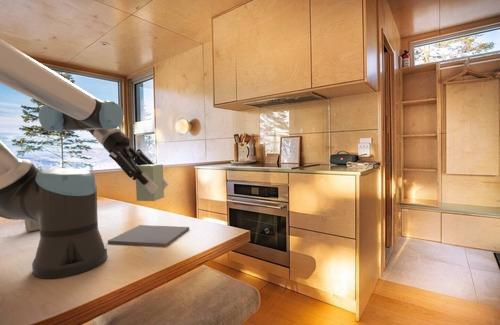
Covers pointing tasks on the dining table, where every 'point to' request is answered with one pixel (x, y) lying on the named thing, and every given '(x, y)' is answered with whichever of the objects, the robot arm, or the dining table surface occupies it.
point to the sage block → (156, 176)
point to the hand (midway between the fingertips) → (160, 188)
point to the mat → (149, 235)
